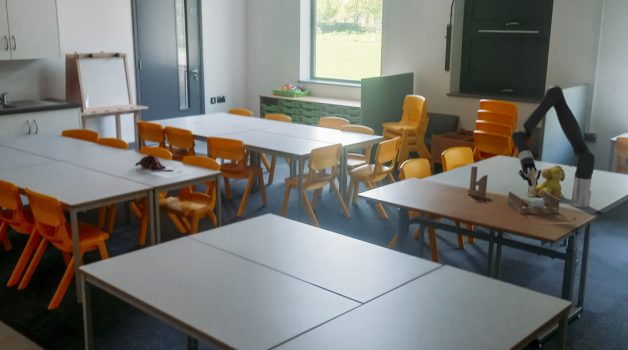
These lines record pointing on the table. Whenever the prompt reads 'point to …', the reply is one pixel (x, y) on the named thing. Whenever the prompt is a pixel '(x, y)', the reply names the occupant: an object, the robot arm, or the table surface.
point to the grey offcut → (536, 203)
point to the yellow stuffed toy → (551, 182)
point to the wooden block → (481, 183)
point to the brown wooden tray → (522, 207)
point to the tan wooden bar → (532, 188)
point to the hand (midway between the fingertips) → (533, 185)
